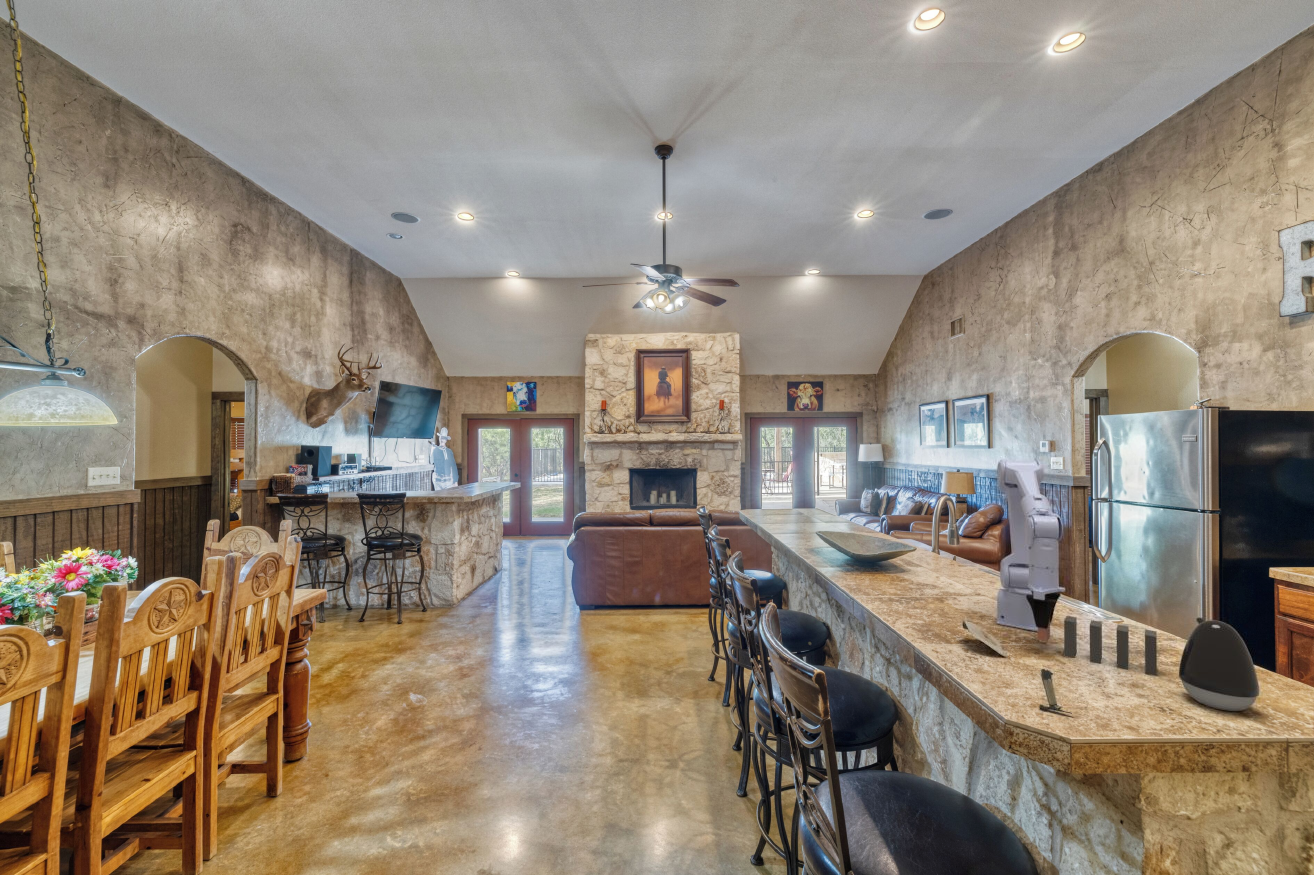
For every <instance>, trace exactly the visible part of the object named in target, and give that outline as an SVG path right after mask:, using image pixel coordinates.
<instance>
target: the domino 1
mask: <svg viewBox="0 0 1314 875" xmlns="http://www.w3.org/2000/svg"><path fill="white" fill-rule="evenodd" d="M1077 620H1078V618H1077V617H1076V616H1070V615H1066V616H1065V618H1064V621H1063V628H1064V629H1063V640H1064V641H1063V644H1064V645H1063V653H1064V654H1063V656H1064V657H1067V658H1071V659H1075V657H1076V655H1077V653H1078V651H1077V650H1078V646H1077V645H1078V644H1077V643H1078V642H1077V640H1078V639H1077V636H1078V635H1077V633H1078V631H1077V629H1078V628H1077V623H1078V622H1077Z"/></svg>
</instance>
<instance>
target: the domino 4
mask: <svg viewBox="0 0 1314 875" xmlns="http://www.w3.org/2000/svg"><path fill="white" fill-rule="evenodd" d="M1157 634H1158V633H1157V631H1156V630H1151V629H1145V630H1144V674H1145V675H1149V676H1155V677H1158V652H1157V650H1158V648H1157V647H1158V646H1157V644H1158V642H1157V641H1158V640H1157V637H1158V636H1157Z"/></svg>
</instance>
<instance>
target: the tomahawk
mask: <svg viewBox="0 0 1314 875" xmlns="http://www.w3.org/2000/svg"><path fill="white" fill-rule="evenodd" d="M1053 675H1054V673H1053V672H1051V671H1050V670H1049V669H1045V668H1042V669H1041V679H1042V683H1043V688H1044V690H1045V693H1046V697H1047V702H1048V705H1049V706H1045V705H1044V704H1039V710H1040V711H1042V712H1044V713H1045V712H1047V713H1051V714H1055V715H1058V716H1062V717H1066V718H1072V719H1074V716H1072V715H1068V714H1073V712H1070V711H1065V710H1062V708H1063V707H1061V706H1059V705H1058V702H1057V698H1056V693H1055V688H1054V684H1053V679H1052V676H1053ZM1065 713H1066V714H1065Z"/></svg>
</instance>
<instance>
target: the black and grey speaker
mask: <svg viewBox="0 0 1314 875" xmlns="http://www.w3.org/2000/svg"><path fill="white" fill-rule="evenodd" d="M1195 620H1196V622H1197V624H1198V625H1196V626H1195V627H1194V629H1193V630H1192V631H1191V633H1190V635H1189V637H1188V639H1187V641H1186V643H1185V645H1184V648H1183V650H1182V654H1181V657H1180V663H1179V670H1178V677H1179V679H1180V680H1181V683H1182V686H1183V687H1184V689H1185V691H1186V692H1187V693H1188V695H1190V697H1192V698H1193V700H1196V701H1197V702H1198V703H1200V704H1203V705H1205V706H1207V707H1210V708H1213V709H1218V710H1220V711H1226V712H1227V711H1228V712H1240V711H1245V710H1248V709H1250V707H1252V706H1253V705H1254V704H1255V701H1256V699H1257V697H1259V696H1260V684H1259V679H1258V675H1257V671H1256V668H1255V665H1254V663H1253V659H1252V656H1251V654H1250V652H1249V650H1248V647H1247V645H1246V643H1245V641H1244V640H1243V638H1242V636H1241V635H1240V634H1239V633H1238V631H1237V630H1236V629H1235V628H1234V627H1232V626H1231V625H1230V624H1227V623H1226V622H1224V621H1220V620H1215V619H1214V620H1212V619H1210V620H1208V619H1207V620H1205V619H1204V618H1203V617H1197V618H1195Z"/></svg>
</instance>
